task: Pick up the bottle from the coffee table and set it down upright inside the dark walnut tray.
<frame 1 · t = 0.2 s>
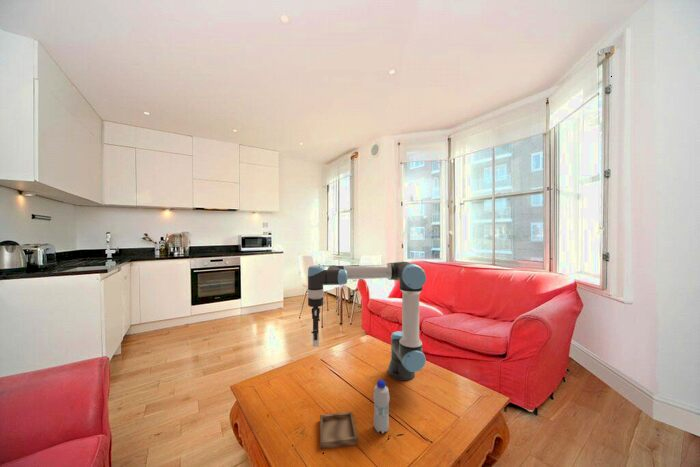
hand: (315, 340, 122), 28 cm above the table, fingers open, 13 cm apart
tray: (337, 431, 100), on the table
bottle: (381, 429, 101), on the table
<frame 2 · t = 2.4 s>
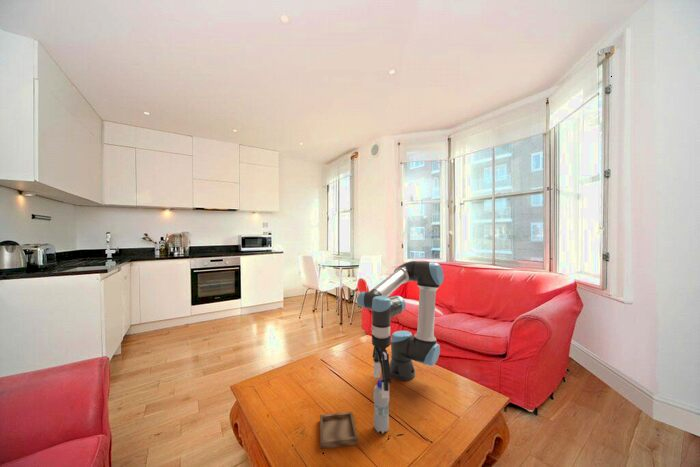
hand: (380, 386, 101), 18 cm above the table, fingers open, 13 cm apart
nothing on the table moved.
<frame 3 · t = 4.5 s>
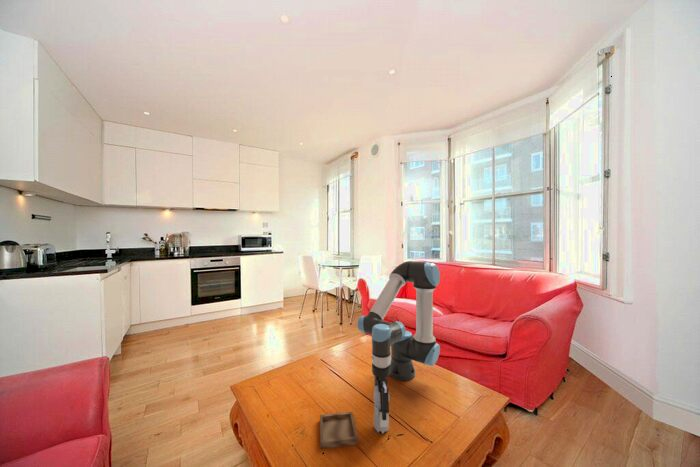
hand: (381, 419, 101), 4 cm above the table, fingers closed on bottle, 6 cm apart
bottle: (381, 429, 101), on the table, touching gripper
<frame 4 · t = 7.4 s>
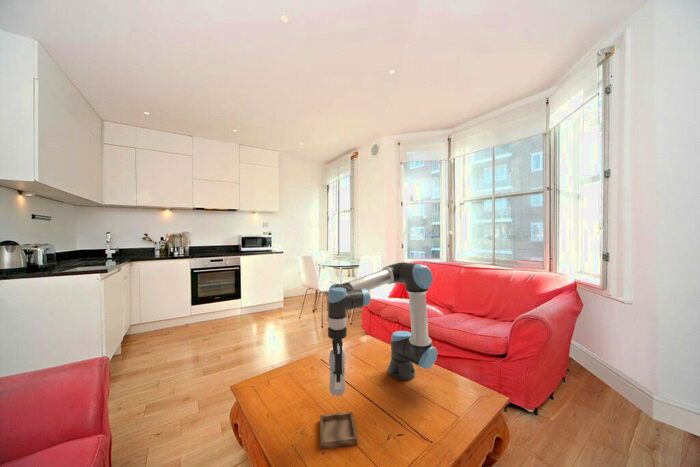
hand: (337, 383, 100), 20 cm above the table, fingers closed on bottle, 6 cm apart
bottle: (337, 393, 100), point 16 cm above the table, touching gripper
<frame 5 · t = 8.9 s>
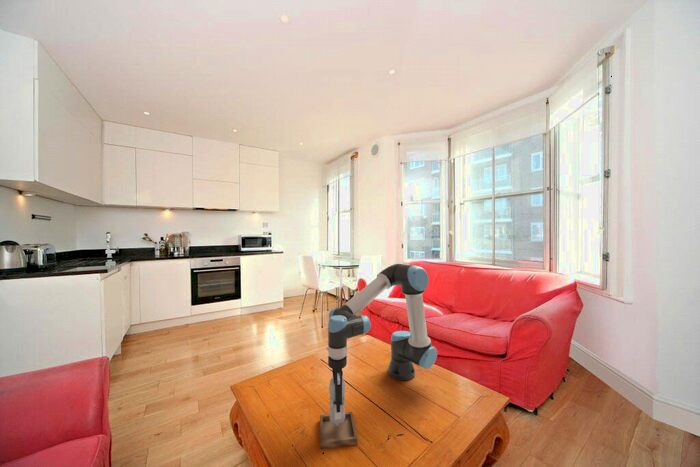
hand: (337, 412, 100), 8 cm above the table, fingers closed on bottle, 6 cm apart
bottle: (337, 422, 100), point 4 cm above the table, touching gripper
when the fingers open (5 cm above the table, at t = 10.2 s): bottle stays where it is, resting on tray.
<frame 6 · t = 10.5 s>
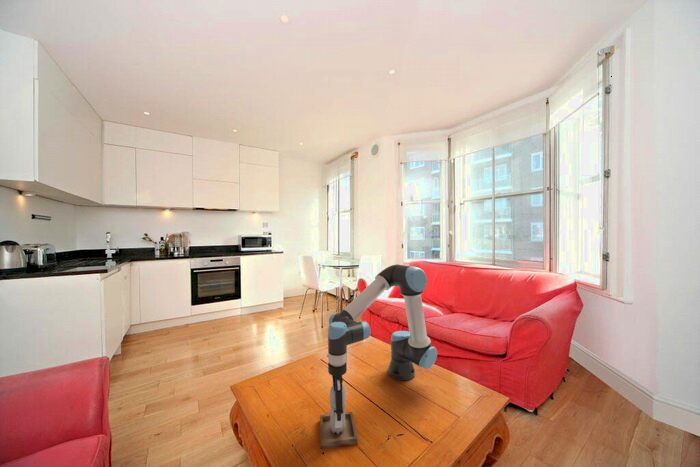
hand: (337, 416, 100), 6 cm above the table, fingers open, 10 cm apart
bottle: (337, 430, 100), point 1 cm above the table, touching tray
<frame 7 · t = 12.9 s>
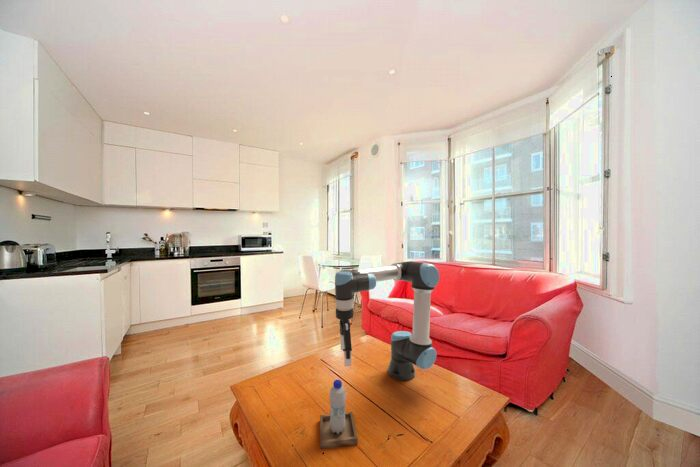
hand: (345, 357, 106), 27 cm above the table, fingers open, 13 cm apart
nothing on the table moved.
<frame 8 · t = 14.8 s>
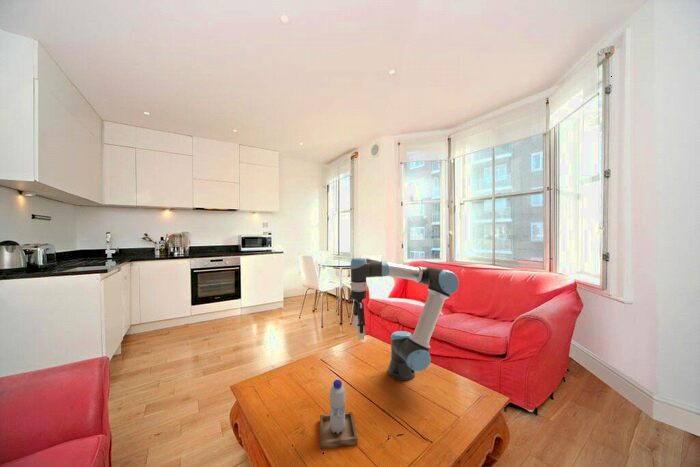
hand: (358, 333, 120), 32 cm above the table, fingers open, 13 cm apart
nothing on the table moved.
at the end: bottle inside the target area on the tray (0.0 cm from its centre), point 0.6 cm above the tray's base; bottle tilted 0°; the gripper is holding nothing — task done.
